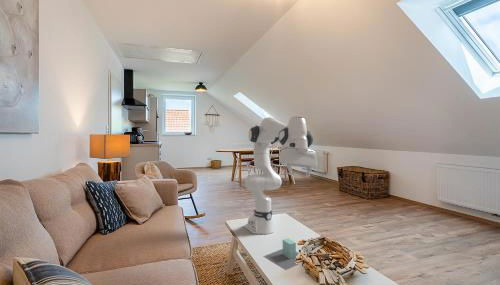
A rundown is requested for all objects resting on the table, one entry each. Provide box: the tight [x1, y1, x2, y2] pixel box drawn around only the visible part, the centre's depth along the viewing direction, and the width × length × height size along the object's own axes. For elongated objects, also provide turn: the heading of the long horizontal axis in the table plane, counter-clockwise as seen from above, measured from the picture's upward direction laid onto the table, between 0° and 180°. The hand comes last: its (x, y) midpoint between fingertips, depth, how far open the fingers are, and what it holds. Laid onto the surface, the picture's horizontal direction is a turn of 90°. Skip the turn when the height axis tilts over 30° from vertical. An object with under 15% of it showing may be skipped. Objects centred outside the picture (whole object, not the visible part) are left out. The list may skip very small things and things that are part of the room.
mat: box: [263, 248, 299, 271], centre depth 130 cm, size 17×18×1 cm
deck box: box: [282, 237, 297, 259], centre depth 132 cm, size 6×4×8 cm, turn 27°
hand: (299, 175), depth 115 cm, fingers open, 8 cm apart
